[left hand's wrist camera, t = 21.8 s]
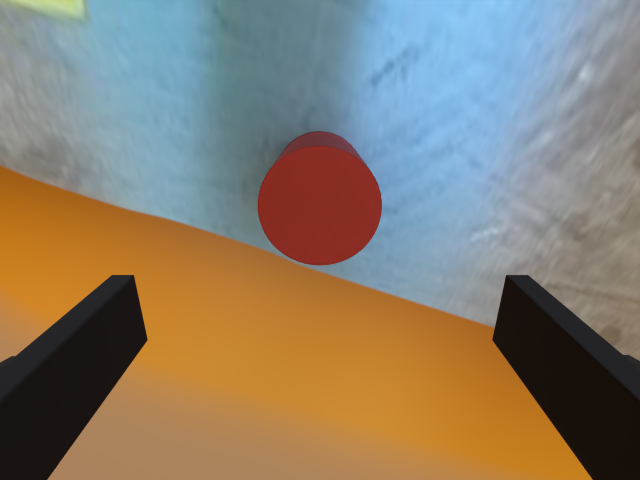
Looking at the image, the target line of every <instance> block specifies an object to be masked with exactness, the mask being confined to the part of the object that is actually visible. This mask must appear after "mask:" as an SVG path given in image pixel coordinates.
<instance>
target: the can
mask: <svg viewBox="0 0 640 480" xmlns="http://www.w3.org/2000/svg"><path fill="white" fill-rule="evenodd" d="M381 210H382V200H381V193H380V190H379V186H378V184H377V181H376V179H375V177H374V176H373V174H372V172H371V171H370V170H369V168H368V167H367V165H366V164H365V163H364V161H363V160H362V159H361V157H360V156H359V154H358V153H357V152H356V150H355V149H354V148H353V147H352V145H351V144H350V143H348V142H347V141H346V140H345V139H343V138H342V137H340V136H338V135H336V134H333V133H329V132H320V131H319V132H311V133H307V134H304V135H302V136H300V137H298V138H296V139H295V140H293V141H292V142H291V143H290V144H289V145H288V146H287V147H286V148H285V150H284V151H283V152H282V154H281V155H280V156H279V158H278V159H277V161H276V162H275V163H274V165H273V166H272V168H271V169H270V170H269V172H268V173H267V175H266V177H265V178H264V180H263V183H262V185H261V188H260V192H259V197H258V214H259V219H260V223H261V226H262V228H263V230H264V233H265V234H266V236H267V237H268V239H269V240H270V242H271V243H272V244H273V245H274V246H275V247H276V248H277V249H278V250H279V251H280V252H282V253H283V254H284V255H286V256H288V257H289V258H291V259H293V260H296V261H298V262H301V263H305V264H310V265H329V264H335V263H338V262H341V261H344V260H346V259H348V258H350V257H352V256H353V255H355V254H357V253H358V252H359V251H360V250H362V249H363V248H364V247H365V246H366V245H367V244H368V242H369V241H370V240H371V238H372V237H373V235H374V233H375V232H376V229H377V227H378V224H379V221H380V217H381Z"/></svg>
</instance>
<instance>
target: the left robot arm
mask: <svg viewBox="0 0 640 480" xmlns="http://www.w3.org/2000/svg"><path fill="white" fill-rule="evenodd" d="M146 341H147V335H146V330H145V325H144V321H143V316H142V311H141V307H140V302H139V297H138V293H137V288H136V283H135V279H134V275H112V276H110V277H109V278H108V279H107V280H106V281H105V282H103V283H102V284H101V285H100V286H99V287H97V288H96V289H95V290H94V291H93V292H91V293H90V294H89V295H88V296H87V297H85V298H84V299H83V300H82V301H81V302H80V303H78V304H77V305H76V306H75V307H74V308H72V309H71V310H70V311H69V312H68V313H67V314H65V315H64V316H63V317H62V318H61V319H59V320H58V321H57V322H56V323H55V324H53V325H52V326H51V327H50V328H49V329H47V330H46V331H45V332H44V333H43V334H41V335H40V336H39V337H38V338H37V339H36V340H34V341H33V342H32V343H31V344H30V345H28V346H27V347H26V348H25V349H24V350H22V351H21V352H20V353H19V354H18V355H17V356H11V357H10V358H8V359H6V360H4V361H2V362H1V363H0V480H47V479H48V478H49V476H50V475H51V474H52V472H53V471H54V469H55V468H56V467H57V465H58V464H59V462H60V461H61V460H62V458H63V457H64V455H65V454H66V453H67V451H68V450H69V449H70V447H71V446H72V444H73V443H74V442H75V440H76V439H77V437H78V436H79V435H80V433H81V432H82V430H83V429H84V428H85V426H86V425H87V424H88V422H89V421H90V419H91V418H92V417H93V415H94V414H95V412H96V411H97V410H98V408H99V407H100V405H101V404H102V403H103V401H104V400H105V398H106V397H107V396H108V394H109V393H110V392H111V390H112V389H113V387H114V386H115V385H116V383H117V382H118V380H119V379H120V378H121V376H122V375H123V373H124V372H125V371H126V369H127V368H128V366H129V365H130V364H131V362H132V361H133V360H134V358H135V357H136V355H137V354H138V353H139V351H140V350H141V348H142V347H143V346H144V344H145V343H146ZM493 341H494V343H495V344H496V346H497V347H498V348H499V350H500V351H501V353H502V354H503V355H504V357H505V358H506V360H507V361H508V362H509V364H510V365H511V367H512V368H513V369H514V371H515V372H516V373H517V375H518V376H519V378H520V379H521V380H522V382H523V383H524V385H525V386H526V387H527V389H528V390H529V392H530V393H531V394H532V396H533V397H534V399H535V400H536V401H537V403H538V404H539V405H540V407H541V408H542V410H543V411H544V412H545V414H546V415H547V417H548V418H549V419H550V421H551V422H552V424H553V425H554V426H555V428H556V429H557V430H558V432H559V433H560V435H561V436H562V437H563V439H564V440H565V442H566V443H567V444H568V446H569V447H570V449H571V450H572V451H573V453H574V454H575V456H576V457H577V458H578V460H579V461H580V462H581V464H582V465H583V467H584V468H585V469H586V471H587V472H588V474H589V475H590V476H591V478H592V479H593V480H640V361H639V360H637V359H635V358H633V357H631V356H630V355H622V354H621V353H620V352H619V351H618V350H616V349H615V348H614V347H613V346H612V345H610V344H609V343H608V342H607V341H606V340H604V339H603V338H602V337H601V336H600V335H599V334H597V333H596V332H595V331H594V330H593V329H591V328H590V327H589V326H588V325H587V324H585V323H584V322H583V321H582V320H581V319H579V318H578V317H577V316H576V315H575V314H574V313H572V312H571V311H570V310H569V309H568V308H566V307H565V306H564V305H563V304H562V303H560V302H559V301H558V300H557V299H556V298H555V297H553V296H552V295H551V294H550V293H549V292H547V291H546V290H545V289H544V288H543V287H541V286H540V285H539V284H538V283H537V282H536V281H534V280H533V279H532V278H531V277H530V276H528V275H506V279H505V283H504V288H503V293H502V297H501V302H500V307H499V311H498V316H497V321H496V325H495V330H494V335H493Z"/></svg>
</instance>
